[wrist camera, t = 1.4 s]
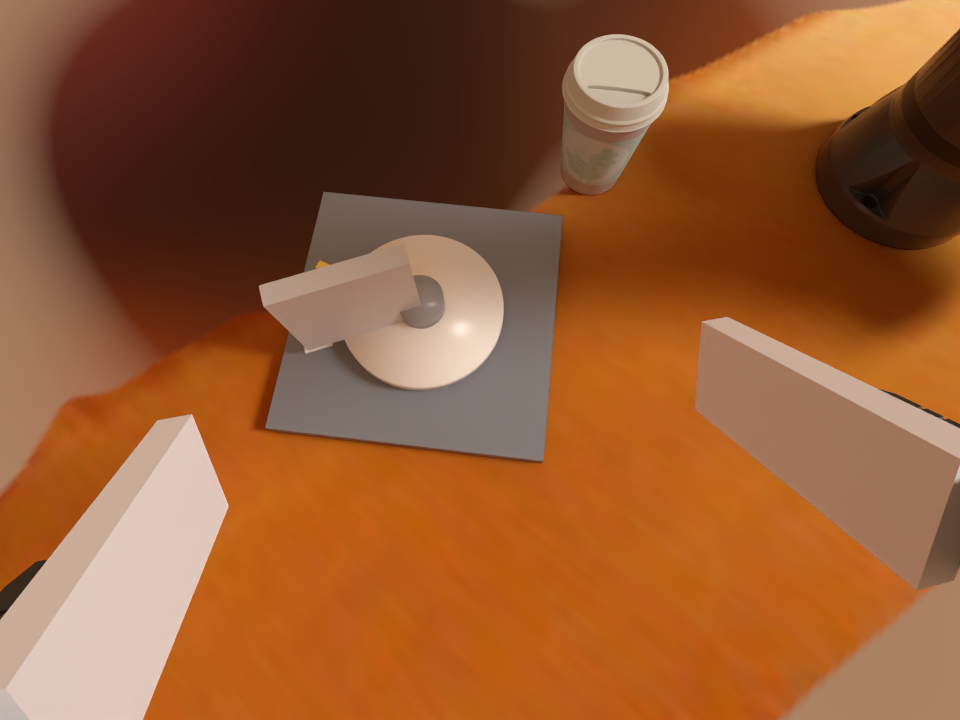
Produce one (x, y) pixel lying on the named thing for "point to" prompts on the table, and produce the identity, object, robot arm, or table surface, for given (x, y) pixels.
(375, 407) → the dial plate
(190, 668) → the table surface
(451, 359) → the dial
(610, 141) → the coffee cup
